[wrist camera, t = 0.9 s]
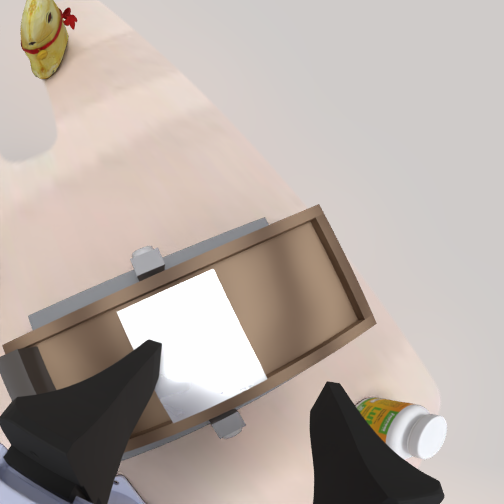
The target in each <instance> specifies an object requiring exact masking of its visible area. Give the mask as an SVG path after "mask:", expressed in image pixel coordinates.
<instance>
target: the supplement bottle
mask: <svg viewBox="0 0 504 504" xmlns="http://www.w3.org/2000/svg"><path fill="white" fill-rule="evenodd" d="M356 408H357V409H358V411H359V412H360V413H361V415H362V416H363V417H364V419H365V420H366V421H367V423H368V424H369V425H370V426H371V428H372V429H373V430H374V431H375V432H376V434H377V435H378V436H379V437H380V438H381V439H382V440H383V441H384V442H385V443H386V444H387V445H388V446H389V447H390V448H391V449H392V450H393V451H394V452H395V453H397V454H398V455H399V456H400V457H401V458H403V459H408V458H410V457H412V456H413V457H417V458H421V459H428V458H430V457H432V456H434V455H435V454H436V453H437V452H438V450H439V449H440V448H441V446H442V444H443V442H444V440H445V437H446V433H447V423H446V420H445V419H444V418H443V417H442V416H438V415H433V414H430V413H429V412H428V410H427V409H426V408H425V407H423V406H421V405H417V404H411V403H405V402H398V401H392V400H387V399H381V398H375V397H371V398H367V399H364V400H362V401H361V402H359V403H358V404H357V405H356Z"/></svg>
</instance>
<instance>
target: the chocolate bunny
mask: <svg viewBox="0 0 504 504" xmlns="http://www.w3.org/2000/svg"><path fill="white" fill-rule="evenodd" d="M70 12H71V9H70V8H67V9H66V10H65V11H64V12H63V14H62V11H61V10H60V9H59V8H58V7H57V5H56V4H55V2H54V1H53V0H27V1H26V5H25V8H24V12H23V16H22V22H21V47H22V49H23V50H24V51H25V53H26V55H27V56H28V58H29V59H30V63H31V68H32V72H33V73H34V75H35V76H36V77H38V78H40V79H46V78H49V77H50V76H51V75H52V74H53V73H54V72H55V71H56V70H57V68H58V66H59V64H60V62H61V60H62V58H63V55H64V51H65V48H66V45H67V41H68V37H69V36H68V33H67V30H66V28H65V25H66V26H68V25H69V24H70V26H71V28H72V29H73V30H74V28H75V22H77V18H76V17H75V16H74V15H70ZM63 18H64V19H66V20H65V21H64V20H63Z"/></svg>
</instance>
